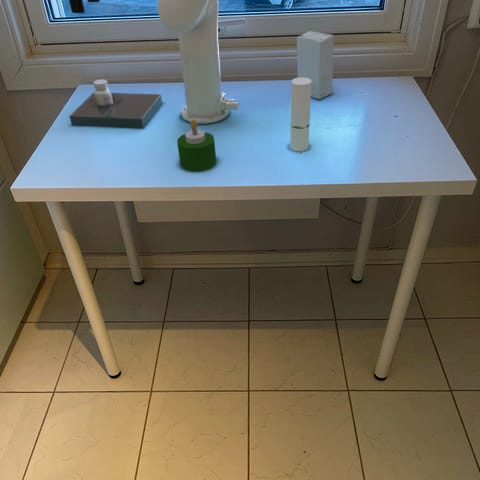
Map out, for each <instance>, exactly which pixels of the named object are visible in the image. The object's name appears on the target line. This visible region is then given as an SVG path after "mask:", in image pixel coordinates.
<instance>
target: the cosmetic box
mask: <svg viewBox="0 0 480 480" xmlns="http://www.w3.org/2000/svg"><path fill="white" fill-rule="evenodd" d="M334 41H335V35H334V34H329V33H323V32H318V31H313V30H310V31H307V32H305V33H302V34H300V35H298V36H297V37H296V71H297V72H296V73H297V76H296V78H300V77H304V78H309V79H311V98H313V99H316V100H321V99H324V98H325V97H327V96H330V95H332V94H333V81H334V80H333V78H334V75H333V74H334V45H335V43H334Z"/></svg>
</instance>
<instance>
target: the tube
mask: <svg viewBox="0 0 480 480" xmlns="http://www.w3.org/2000/svg"><path fill="white" fill-rule="evenodd" d="M290 83H291V85H290V87H291V90H290V130H289V131H290V135H289V136H290V137H289V138H290V139H289V148H290V150H292V151H294V152H304V151H307V150H308V149H309V145H310V141H309V140H310V120H311V117H310V116H311V101H312V97H311V79H309V78H304V77H300V78H297V77H295V78H293V79H292V80H291V82H290Z"/></svg>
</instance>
